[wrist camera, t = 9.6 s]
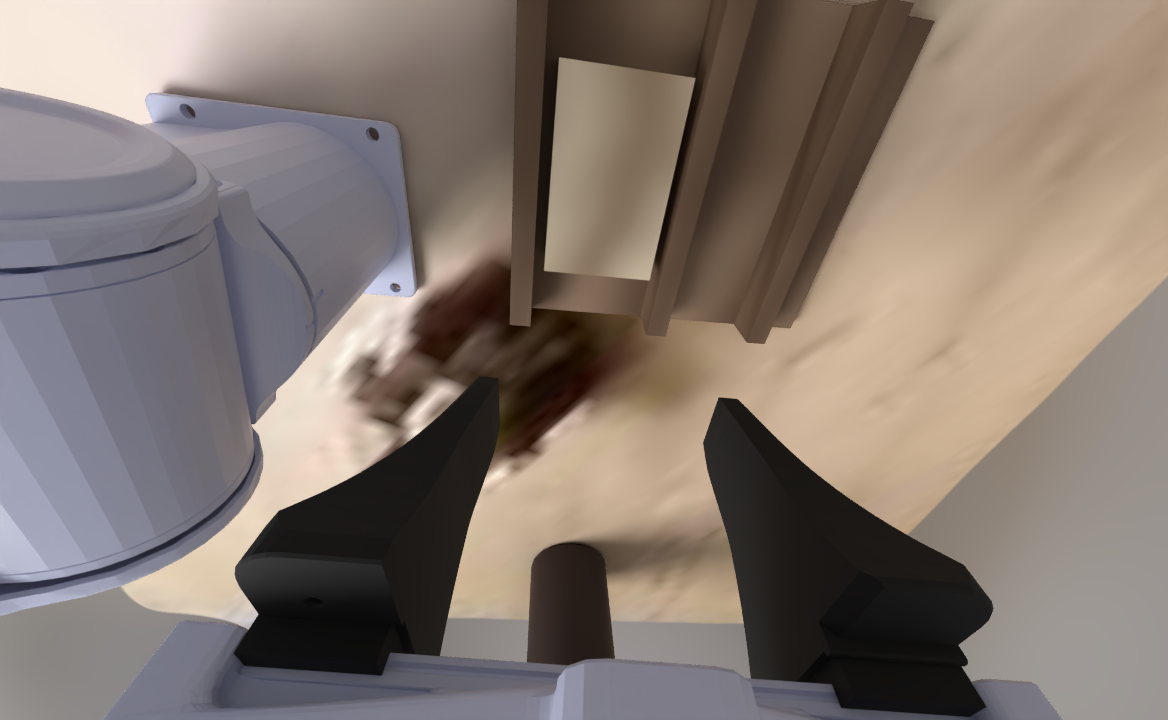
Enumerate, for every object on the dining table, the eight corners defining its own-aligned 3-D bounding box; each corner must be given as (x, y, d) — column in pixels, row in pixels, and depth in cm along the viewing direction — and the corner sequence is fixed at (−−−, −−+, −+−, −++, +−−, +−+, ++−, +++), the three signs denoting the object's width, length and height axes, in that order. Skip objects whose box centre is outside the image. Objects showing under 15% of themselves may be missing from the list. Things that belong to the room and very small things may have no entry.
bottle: (598, 536, 36) (635, 921, 20) (609, 575, 40) (647, 923, 24) (523, 548, 36) (497, 935, 20) (541, 585, 40) (532, 935, 24)
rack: (514, 301, 23) (509, 324, 20) (523, -51, 15) (519, -71, 13) (785, 323, 24) (807, 347, 22) (923, 22, 17) (977, 15, 14)
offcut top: (544, 262, 20) (544, 270, 19) (558, 58, 15) (559, 57, 14) (645, 272, 20) (649, 280, 20) (688, 77, 16) (695, 78, 15)
